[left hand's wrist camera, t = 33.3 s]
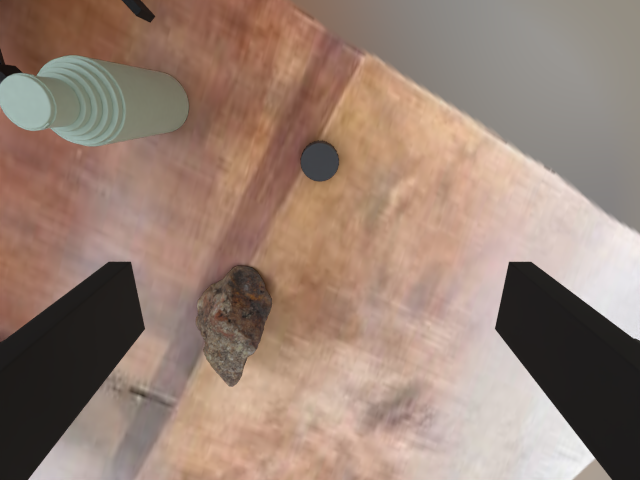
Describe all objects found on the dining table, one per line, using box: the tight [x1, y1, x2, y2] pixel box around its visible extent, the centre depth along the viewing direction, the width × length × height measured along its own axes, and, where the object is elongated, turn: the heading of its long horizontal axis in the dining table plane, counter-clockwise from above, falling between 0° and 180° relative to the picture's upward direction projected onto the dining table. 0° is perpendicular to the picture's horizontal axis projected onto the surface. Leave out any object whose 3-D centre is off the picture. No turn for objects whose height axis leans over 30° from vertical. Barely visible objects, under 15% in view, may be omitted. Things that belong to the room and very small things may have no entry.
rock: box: [196, 266, 272, 387], centre depth 47 cm, size 14×9×10 cm
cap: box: [301, 141, 339, 181], centre depth 42 cm, size 4×4×2 cm
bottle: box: [0, 55, 189, 146], centre depth 31 cm, size 7×6×20 cm
